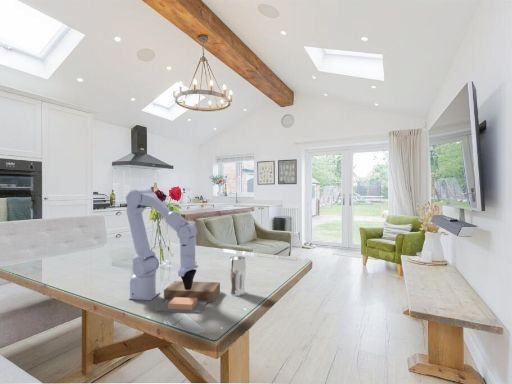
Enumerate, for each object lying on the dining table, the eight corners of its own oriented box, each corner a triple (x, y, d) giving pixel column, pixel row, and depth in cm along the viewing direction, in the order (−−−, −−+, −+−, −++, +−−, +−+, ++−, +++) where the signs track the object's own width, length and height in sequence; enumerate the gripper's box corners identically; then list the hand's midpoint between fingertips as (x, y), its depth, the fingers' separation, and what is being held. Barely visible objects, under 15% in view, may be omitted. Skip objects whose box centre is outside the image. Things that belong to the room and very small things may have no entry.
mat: (156, 311, 100) (156, 309, 100) (168, 300, 110) (168, 299, 110) (199, 313, 98) (199, 311, 98) (207, 301, 108) (207, 300, 108)
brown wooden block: (163, 300, 110) (163, 290, 110) (175, 290, 121) (175, 280, 121) (212, 302, 108) (212, 291, 108) (219, 291, 119) (219, 282, 119)
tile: (174, 297, 107) (174, 302, 107) (167, 303, 101) (168, 308, 101) (197, 298, 106) (197, 303, 106) (191, 304, 100) (191, 310, 100)
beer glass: (246, 290, 120) (245, 255, 120) (246, 296, 113) (245, 259, 113) (230, 290, 120) (229, 256, 120) (229, 296, 113) (228, 260, 113)
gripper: (191, 259, 101) (191, 296, 101) (203, 250, 116) (203, 283, 116) (172, 259, 102) (173, 295, 102) (187, 250, 116) (187, 282, 117)
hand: (188, 289), depth 109 cm, fingers closed
